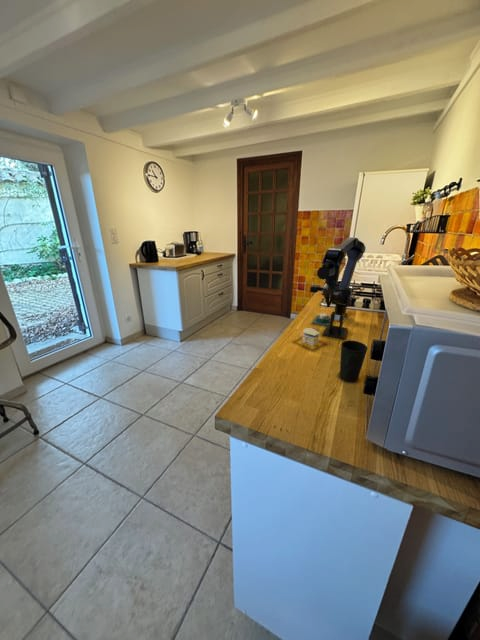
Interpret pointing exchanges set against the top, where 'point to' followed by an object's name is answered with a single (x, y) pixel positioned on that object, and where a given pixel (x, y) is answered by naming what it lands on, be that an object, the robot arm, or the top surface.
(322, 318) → the button
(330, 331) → the toaster bracket
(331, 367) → the top surface
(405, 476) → the top surface
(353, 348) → the cup
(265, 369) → the top surface
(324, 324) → the button housing
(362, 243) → the robot arm
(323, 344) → the top surface
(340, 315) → the press lever
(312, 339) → the stacked layers on plate
